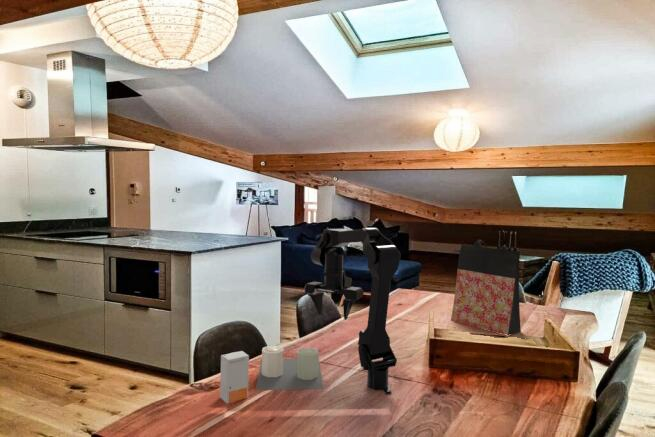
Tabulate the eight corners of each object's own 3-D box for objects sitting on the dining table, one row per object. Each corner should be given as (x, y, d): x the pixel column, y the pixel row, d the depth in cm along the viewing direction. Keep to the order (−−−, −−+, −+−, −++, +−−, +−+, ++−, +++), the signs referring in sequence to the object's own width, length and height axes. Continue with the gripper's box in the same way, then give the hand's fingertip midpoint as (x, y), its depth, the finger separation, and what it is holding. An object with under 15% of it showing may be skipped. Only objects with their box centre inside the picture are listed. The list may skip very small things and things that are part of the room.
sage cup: (318, 379, 126) (319, 355, 126) (297, 379, 126) (297, 355, 125) (317, 371, 132) (317, 347, 132) (296, 371, 132) (297, 347, 131)
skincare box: (226, 407, 111) (227, 360, 110) (219, 400, 115) (220, 354, 114) (249, 401, 115) (249, 355, 114) (241, 394, 118) (242, 350, 117)
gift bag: (524, 330, 180) (528, 243, 178) (505, 337, 171) (509, 245, 169) (461, 313, 203) (464, 236, 201) (441, 319, 194) (444, 238, 192)
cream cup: (282, 377, 127) (283, 352, 127) (261, 377, 127) (261, 353, 127) (283, 368, 133) (283, 345, 133) (262, 369, 133) (263, 345, 133)
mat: (323, 392, 120) (323, 389, 120) (255, 393, 119) (255, 389, 119) (318, 361, 142) (318, 358, 142) (261, 362, 141) (261, 358, 141)
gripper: (371, 267, 144) (370, 316, 145) (322, 262, 154) (321, 307, 155) (355, 272, 135) (354, 324, 136) (303, 266, 144) (303, 314, 145)
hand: (333, 317), depth 143 cm, fingers open, 9 cm apart
